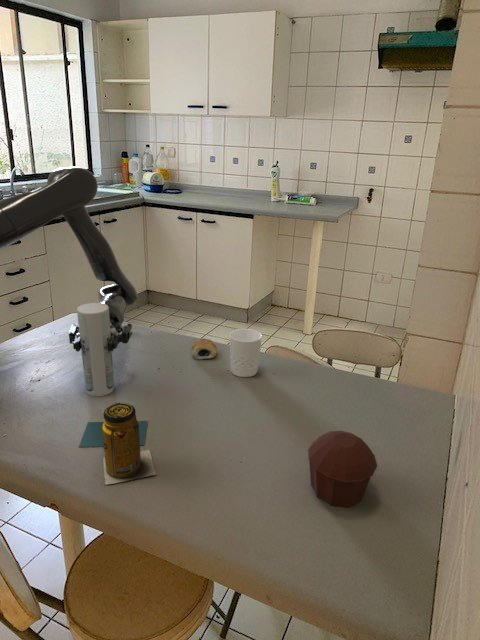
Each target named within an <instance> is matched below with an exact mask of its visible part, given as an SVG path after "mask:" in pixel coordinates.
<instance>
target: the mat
mask: <svg viewBox="0 0 480 640" xmlns="http://www.w3.org/2000/svg"><path fill="white" fill-rule="evenodd" d="M138 423H139V439H140V447H144V446H145V441H146V435H147V428H148V423H149V420H138ZM103 424H104V421H88V422H87V424H86V426H85V428H84V432H83V434H82V437H81V440H80V443H79V445H78V448H104V441H103V430H102V427H103Z"/></svg>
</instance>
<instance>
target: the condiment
mask: <svg viewBox="0 0 480 640" xmlns="http://www.w3.org/2000/svg"><path fill="white" fill-rule="evenodd" d="M136 413H137V411H136V407H134V405H133V404H130V403H128V402H116V403H112V404H110V405H108V406H107V407H106V408H105V409H104V411H103V413H102V415H103V416H102V417H103V422H104V424H103V427H102V430H103V441H104V447H103V451H104V457H102V464H103V473H104V483H105V486H107V485H112V484H118V483H125V482H128V481H132V480H137V479H141V478H142V479H143V478H147V477H150V476H155V475H157V472H156V469H155V465H154V461H153V458H152V454H151V449H145V450H141V446H140V439H139V423H138V421H139V420H138V419H137V414H136Z"/></svg>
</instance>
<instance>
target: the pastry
mask: <svg viewBox="0 0 480 640" xmlns="http://www.w3.org/2000/svg"><path fill="white" fill-rule="evenodd" d="M217 354H218V347H217V345H216V344H215V343H214V342H213V340H211V339H209V338H205V337H204V338H202V337H201V338H200V339H197V340H196V341H195V342H194V343H193V344H192V346H191V357H192V358H193V359H194V360H210V359H214V358H215V357H216V356H217Z"/></svg>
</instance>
